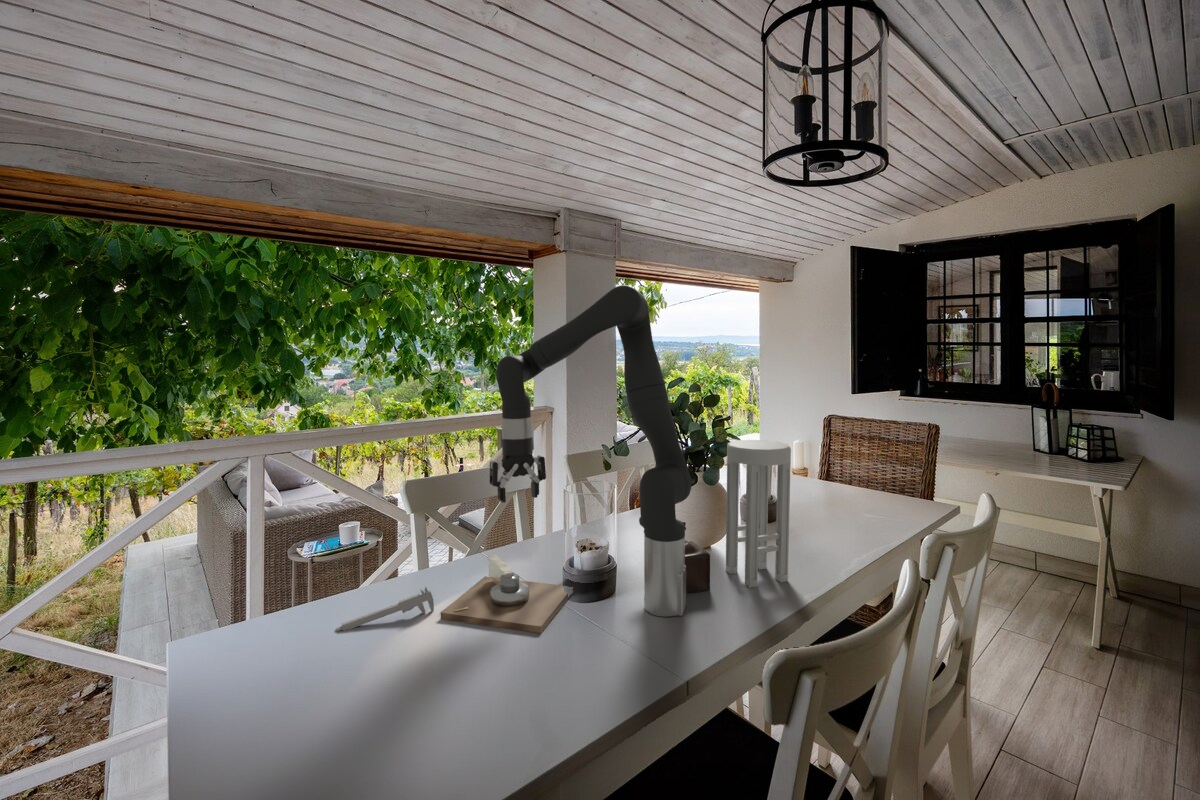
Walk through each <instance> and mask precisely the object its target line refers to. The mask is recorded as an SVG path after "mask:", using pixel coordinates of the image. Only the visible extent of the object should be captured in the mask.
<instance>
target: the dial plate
mask: <svg viewBox="0 0 1200 800" xmlns="http://www.w3.org/2000/svg"><path fill="white" fill-rule="evenodd" d="M519 582H522V583H525V584H527V585H528V586H529V594H530V597H529V599H528V600H527V601H526V602H524V603H522V604H519V605H515V606H499V605H496V604H494V603H492V602H491V594H490V590H491V588H492V587H494V586H495V585H497V584H496V583H495V582H494V581H493V580H492V579H491V577H490V576H483V578H481V579H480V580H478V582H476V583H475V584H474V585H472V586H471V587H470V588H469V589H468V590H466V591H465V592H464V593H463V594H462V595H460V596H459V597H458V598H456V599H455V600H453V602H451V603H450V604H449V605H448V606H446V607H445V608H444V609H443V610H442V611H440V613H439V614H440V620H445V621H452V622H459V623H465V624H473V625H480V626H486V627H487V626H488V627H494V628H501V629H509V630H516V631H523V632H529V633H530V632H531V633H536V634H542V633H543V631H545V629H546V628H547V626H548V625H549V624H550V622H551V621H553V619H554V618H555V617H556V615H557V614H558V613H559V611H560V610H561V608H562V607H564V605H565V603H566V602H567V601H568V600H569V599H568V593H566V592H565V591H564V588H563V584H562V585H561V584H554V583H553V584H552V583H544V582H538V581H537V582H536V581H527V580H520V579H519Z"/></svg>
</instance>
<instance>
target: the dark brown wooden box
mask: <svg viewBox="0 0 1200 800" xmlns="http://www.w3.org/2000/svg"><path fill="white" fill-rule="evenodd" d="M681 521H682V520H681ZM682 522H683V523H684V525H685V531H686V530H687V527H686V522H685V521H684V520H683V521H682ZM638 523H639V525H640V526H641V527H642V528H643V529H644V527H643V525H642V522H641V516H640V517H639V518H638ZM685 565H686V595H689V594H695V593H701V591H702V592H706V591H710V590H711V554H710V553H709V552H708V551H707V550H705V549H704V548H702V547H701V546H700V545H698V544H697V543H695V542H694V541H692V540H691V541H688V540H686V539H685Z"/></svg>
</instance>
